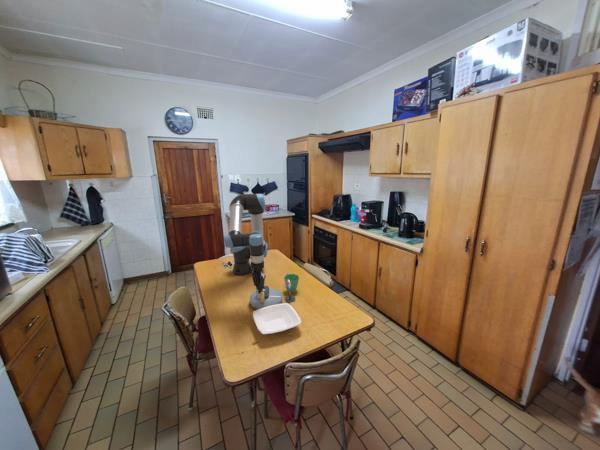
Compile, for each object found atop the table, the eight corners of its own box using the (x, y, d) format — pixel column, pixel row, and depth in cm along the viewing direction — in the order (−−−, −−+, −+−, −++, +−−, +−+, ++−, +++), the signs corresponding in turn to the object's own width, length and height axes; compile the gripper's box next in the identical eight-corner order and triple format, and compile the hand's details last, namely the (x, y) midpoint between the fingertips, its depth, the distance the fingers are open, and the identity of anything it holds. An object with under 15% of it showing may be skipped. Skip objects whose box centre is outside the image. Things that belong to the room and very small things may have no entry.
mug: (300, 293, 161) (300, 279, 159) (286, 295, 158) (286, 281, 156) (294, 283, 175) (294, 270, 172) (281, 285, 172) (281, 272, 170)
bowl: (261, 347, 114) (261, 336, 112) (250, 319, 135) (250, 310, 133) (304, 333, 122) (304, 323, 121) (288, 309, 143) (288, 300, 142)
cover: (255, 299, 146) (254, 291, 145) (257, 292, 154) (257, 285, 153) (268, 299, 146) (267, 291, 145) (270, 292, 154) (270, 285, 152)
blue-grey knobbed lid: (245, 308, 142) (244, 293, 139) (255, 291, 161) (254, 278, 159) (278, 310, 139) (278, 295, 137) (284, 292, 159) (284, 279, 156)
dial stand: (284, 299, 154) (284, 279, 151) (291, 297, 156) (291, 277, 153) (288, 302, 150) (287, 282, 146) (295, 300, 152) (294, 280, 149)
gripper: (245, 259, 140) (248, 295, 146) (257, 266, 131) (259, 304, 137) (257, 256, 145) (259, 291, 151) (268, 262, 135) (270, 299, 142)
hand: (259, 297), depth 144 cm, fingers closed
